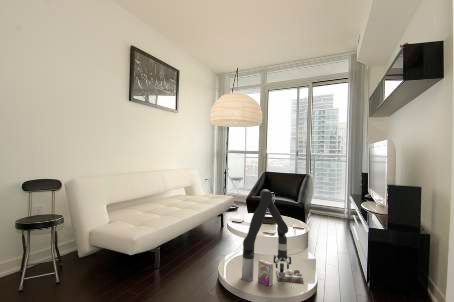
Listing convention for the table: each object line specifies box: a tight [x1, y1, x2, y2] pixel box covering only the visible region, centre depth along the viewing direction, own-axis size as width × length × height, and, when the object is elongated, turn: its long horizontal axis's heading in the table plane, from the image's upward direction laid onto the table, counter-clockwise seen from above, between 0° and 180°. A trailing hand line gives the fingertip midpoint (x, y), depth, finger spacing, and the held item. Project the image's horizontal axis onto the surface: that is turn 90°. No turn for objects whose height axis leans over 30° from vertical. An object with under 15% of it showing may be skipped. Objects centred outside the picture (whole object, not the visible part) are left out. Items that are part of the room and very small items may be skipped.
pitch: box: [275, 268, 305, 284], centre depth 199 cm, size 20×16×4 cm
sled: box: [277, 262, 286, 276], centre depth 199 cm, size 5×12×11 cm, turn 174°
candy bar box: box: [257, 259, 274, 287], centre depth 187 cm, size 11×5×16 cm, turn 44°
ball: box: [287, 269, 294, 275], centre depth 201 cm, size 4×4×4 cm
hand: (282, 268), depth 195 cm, fingers open, 8 cm apart
